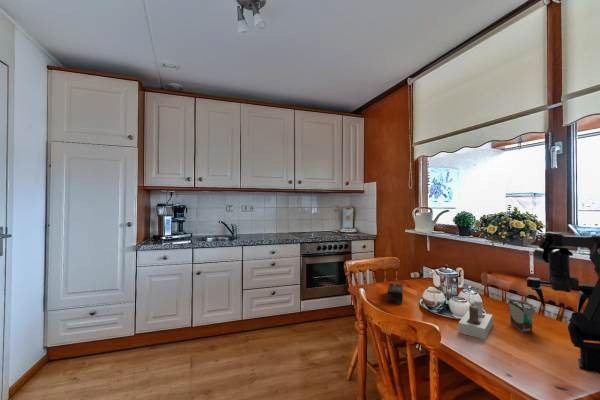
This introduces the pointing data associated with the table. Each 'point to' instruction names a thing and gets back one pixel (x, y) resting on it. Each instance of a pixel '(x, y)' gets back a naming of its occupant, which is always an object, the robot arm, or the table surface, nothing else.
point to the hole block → (476, 326)
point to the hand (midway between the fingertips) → (560, 309)
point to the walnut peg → (473, 314)
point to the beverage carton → (395, 293)
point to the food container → (521, 315)
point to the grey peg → (479, 307)
